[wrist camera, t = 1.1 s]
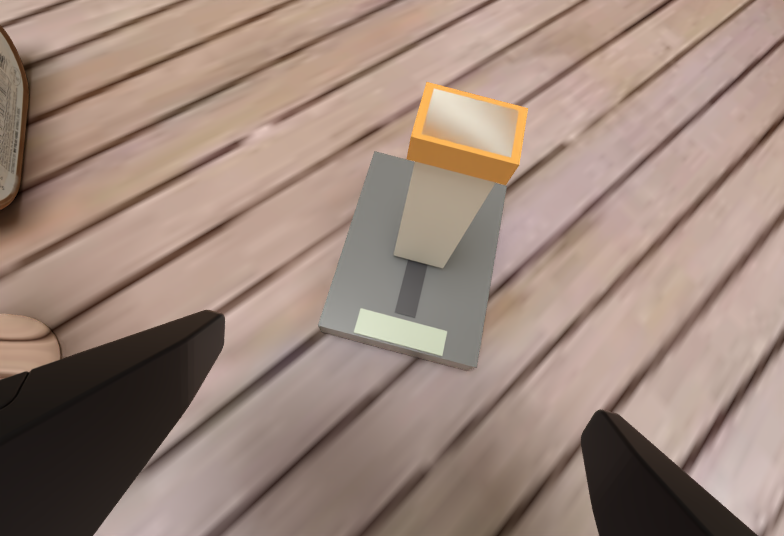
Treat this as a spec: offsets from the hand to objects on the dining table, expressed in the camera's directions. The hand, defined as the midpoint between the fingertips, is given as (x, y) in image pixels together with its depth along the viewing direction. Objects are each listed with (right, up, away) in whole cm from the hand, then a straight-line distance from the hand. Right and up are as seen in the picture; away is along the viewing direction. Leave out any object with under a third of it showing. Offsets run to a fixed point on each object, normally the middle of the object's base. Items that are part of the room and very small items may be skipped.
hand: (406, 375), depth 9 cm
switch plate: (+1, +3, +16) cm, 16 cm away
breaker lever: (+1, +4, +14) cm, 14 cm away
